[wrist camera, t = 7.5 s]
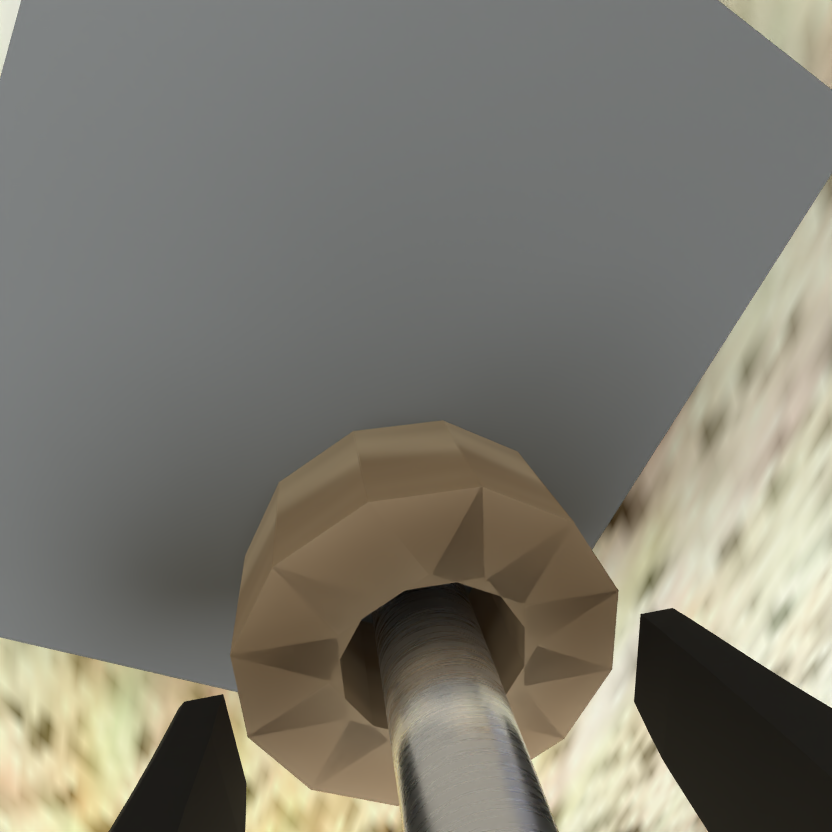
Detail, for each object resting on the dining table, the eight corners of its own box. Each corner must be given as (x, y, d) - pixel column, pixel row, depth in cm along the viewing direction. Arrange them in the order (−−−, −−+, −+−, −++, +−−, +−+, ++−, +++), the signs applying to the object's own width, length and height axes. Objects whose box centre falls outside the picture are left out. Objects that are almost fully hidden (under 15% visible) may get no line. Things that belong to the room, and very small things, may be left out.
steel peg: (450, 522, 14) (617, 923, 6) (454, 595, 14) (608, 1032, 7) (361, 534, 13) (427, 967, 6) (369, 608, 14) (436, 1077, 7)
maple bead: (609, 489, 14) (684, 564, 11) (469, 713, 16) (504, 825, 13) (329, 373, 12) (337, 429, 9) (202, 646, 14) (177, 764, 11)
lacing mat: (842, 120, 13) (867, 117, 12) (462, 726, 17) (467, 744, 16) (154, -409, 8) (143, -452, 8) (-123, 585, 12) (-143, 604, 12)
